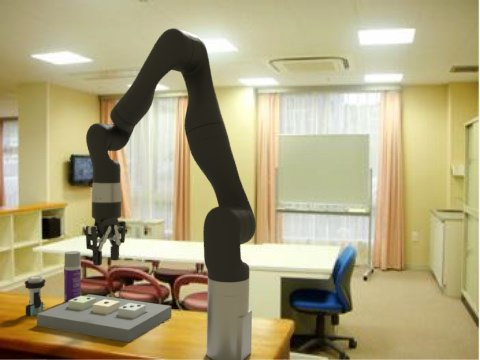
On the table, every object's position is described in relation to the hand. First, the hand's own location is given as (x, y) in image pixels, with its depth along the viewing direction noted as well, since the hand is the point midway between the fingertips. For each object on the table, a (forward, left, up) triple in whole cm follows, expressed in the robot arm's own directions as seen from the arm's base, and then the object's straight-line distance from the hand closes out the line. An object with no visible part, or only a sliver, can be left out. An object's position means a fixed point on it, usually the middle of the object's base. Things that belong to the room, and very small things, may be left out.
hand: (106, 262), depth 124 cm
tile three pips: (-8, 0, -13) cm, 15 cm away
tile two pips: (+8, 0, -13) cm, 15 cm away
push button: (+22, +2, -16) cm, 27 cm away
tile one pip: (0, 0, -13) cm, 13 cm away
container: (+20, -10, -16) cm, 27 cm away
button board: (0, 0, -16) cm, 16 cm away
